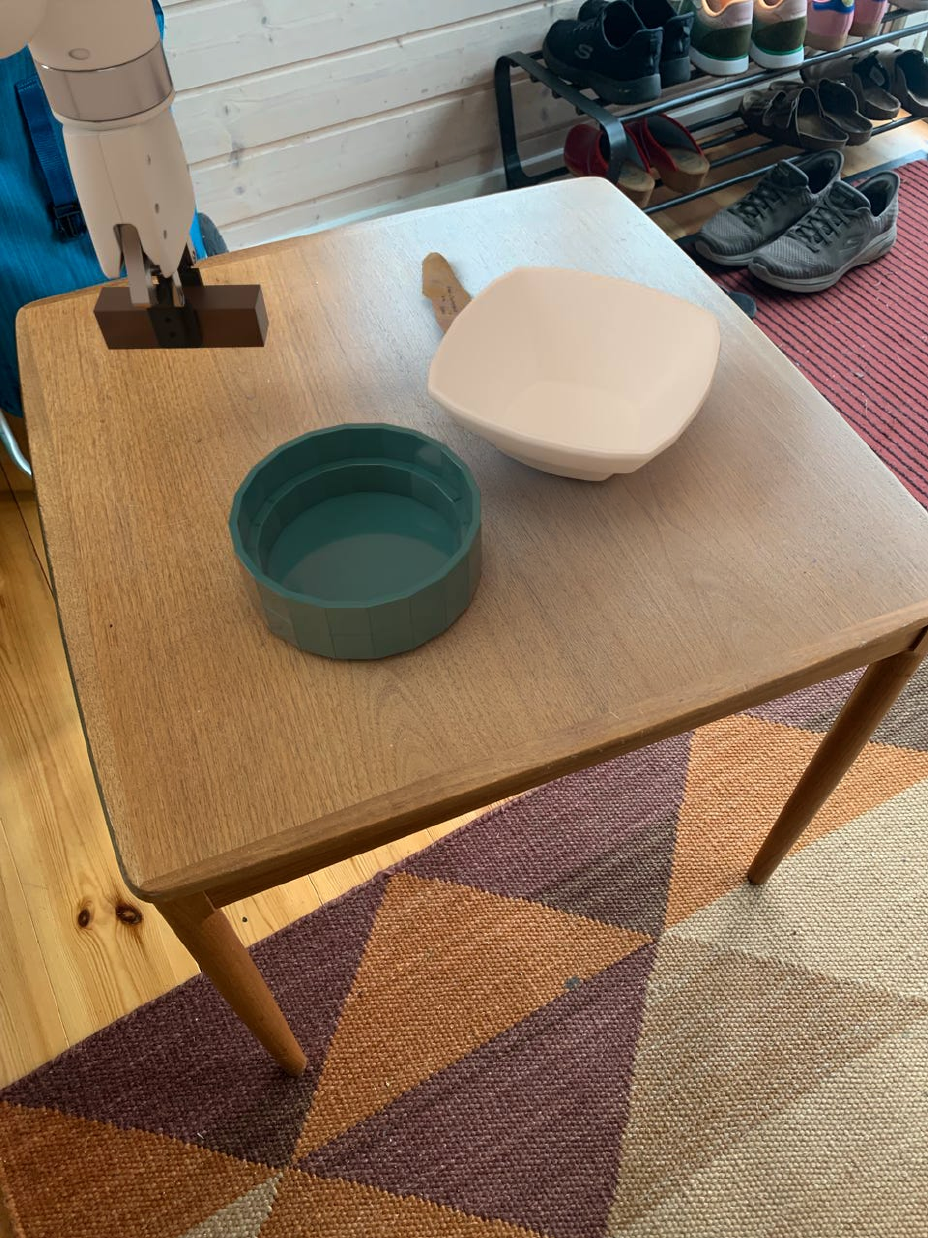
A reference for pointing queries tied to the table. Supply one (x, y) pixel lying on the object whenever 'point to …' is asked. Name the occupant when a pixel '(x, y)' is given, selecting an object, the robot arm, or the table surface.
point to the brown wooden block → (218, 310)
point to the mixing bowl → (358, 539)
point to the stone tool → (443, 290)
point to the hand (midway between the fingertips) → (185, 328)
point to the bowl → (576, 369)
